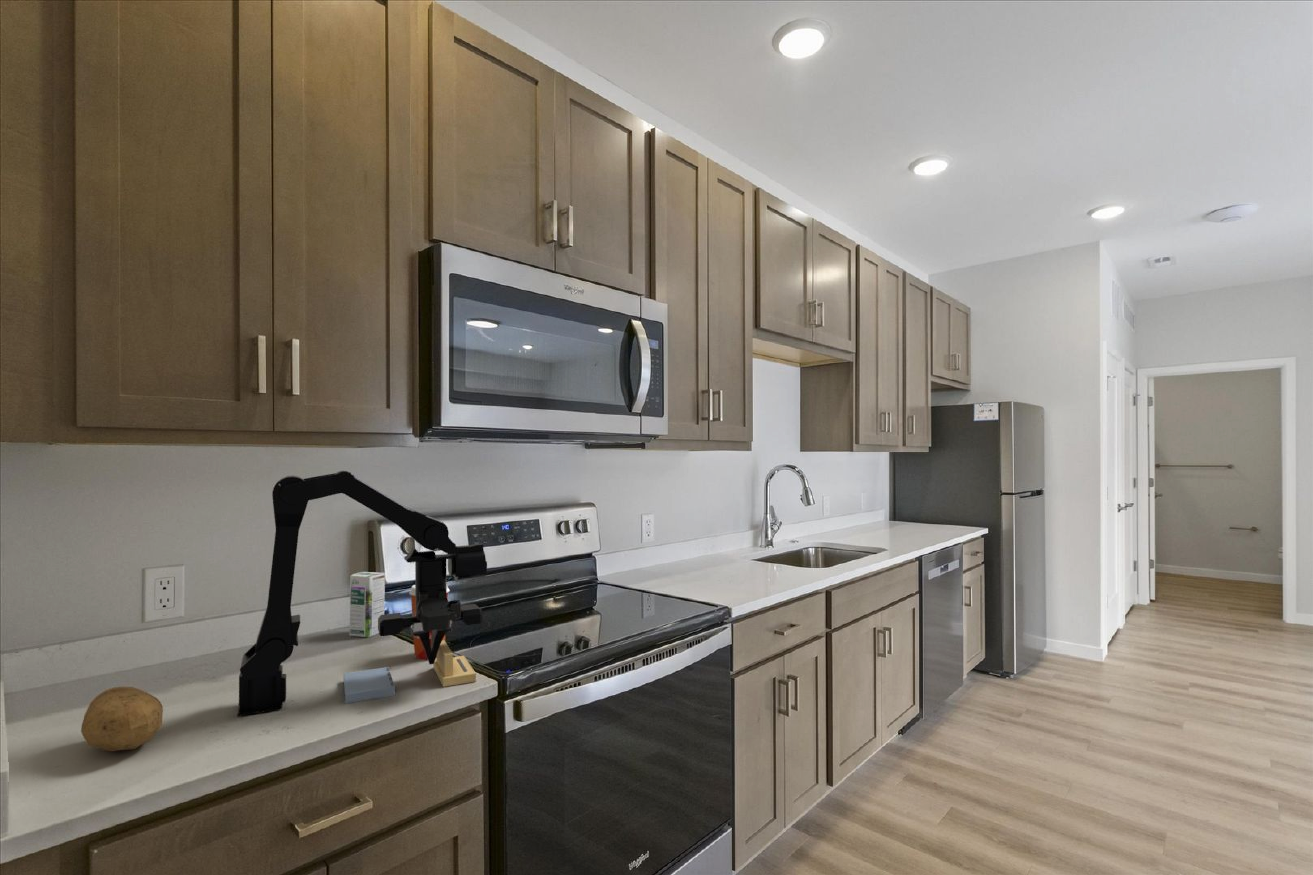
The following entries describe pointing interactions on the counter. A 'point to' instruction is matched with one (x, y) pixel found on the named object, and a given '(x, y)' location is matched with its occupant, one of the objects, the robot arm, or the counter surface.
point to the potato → (121, 719)
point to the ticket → (368, 684)
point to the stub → (452, 667)
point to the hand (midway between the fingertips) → (431, 663)
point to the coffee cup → (417, 642)
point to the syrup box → (366, 603)
